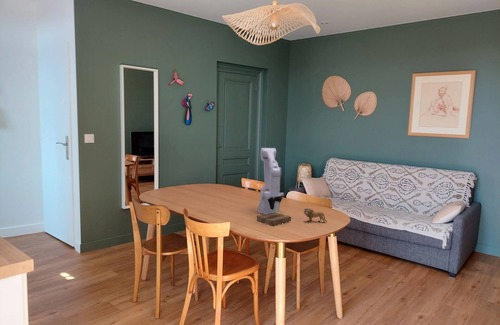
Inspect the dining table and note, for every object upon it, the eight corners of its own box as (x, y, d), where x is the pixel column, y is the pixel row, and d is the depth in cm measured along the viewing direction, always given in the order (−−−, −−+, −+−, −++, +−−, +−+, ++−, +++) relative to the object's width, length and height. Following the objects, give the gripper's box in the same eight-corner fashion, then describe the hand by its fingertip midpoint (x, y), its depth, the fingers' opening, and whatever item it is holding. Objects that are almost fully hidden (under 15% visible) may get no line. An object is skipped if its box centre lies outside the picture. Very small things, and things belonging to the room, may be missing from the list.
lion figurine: (304, 222, 227) (304, 208, 226) (302, 220, 232) (303, 206, 231) (327, 223, 227) (328, 209, 226) (325, 220, 233) (326, 207, 231)
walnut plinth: (256, 220, 228) (257, 216, 228) (274, 216, 239) (274, 212, 239) (273, 226, 218) (273, 221, 218) (290, 221, 229) (291, 216, 229)
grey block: (269, 211, 228) (270, 201, 227) (274, 210, 231) (274, 200, 230) (274, 212, 225) (275, 202, 224) (279, 211, 228) (279, 201, 227)
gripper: (271, 189, 218) (271, 211, 220) (287, 186, 228) (286, 208, 230) (263, 187, 223) (262, 209, 225) (279, 185, 233) (278, 206, 235)
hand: (274, 208), depth 228 cm, fingers closed on grey block, 4 cm apart
